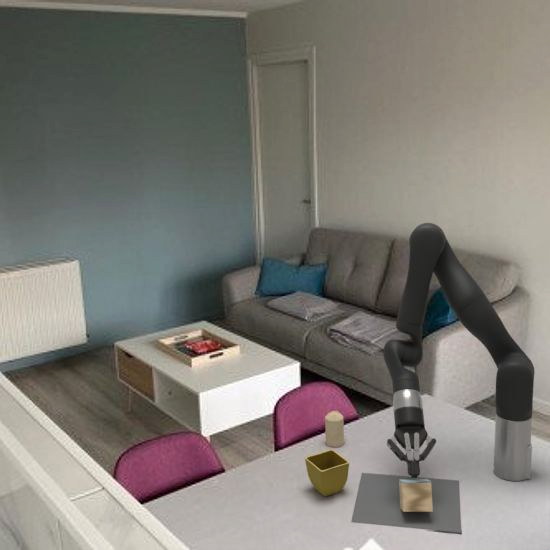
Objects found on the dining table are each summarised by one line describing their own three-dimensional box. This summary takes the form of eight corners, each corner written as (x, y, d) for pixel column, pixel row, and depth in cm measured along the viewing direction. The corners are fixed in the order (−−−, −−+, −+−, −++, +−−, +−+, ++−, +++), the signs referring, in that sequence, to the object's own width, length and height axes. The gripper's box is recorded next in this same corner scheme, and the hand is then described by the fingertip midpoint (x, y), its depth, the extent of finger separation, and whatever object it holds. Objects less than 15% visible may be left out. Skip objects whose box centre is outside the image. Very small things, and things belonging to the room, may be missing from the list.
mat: (458, 481, 186) (458, 480, 186) (461, 534, 163) (461, 532, 163) (361, 473, 192) (361, 472, 192) (351, 523, 169) (351, 522, 169)
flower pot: (322, 503, 178) (321, 471, 176) (305, 487, 186) (304, 457, 184) (350, 493, 182) (350, 462, 180) (332, 478, 190) (332, 448, 188)
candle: (342, 448, 207) (342, 417, 205) (324, 446, 208) (323, 416, 206) (344, 439, 212) (344, 409, 210) (327, 438, 213) (326, 408, 211)
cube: (431, 481, 168) (432, 511, 167) (426, 478, 175) (428, 507, 174) (402, 481, 169) (403, 511, 167) (398, 479, 176) (400, 508, 174)
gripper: (383, 405, 178) (388, 473, 169) (435, 404, 177) (443, 472, 168) (381, 415, 185) (386, 481, 175) (432, 415, 184) (439, 481, 174)
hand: (414, 476), depth 172 cm, fingers closed
